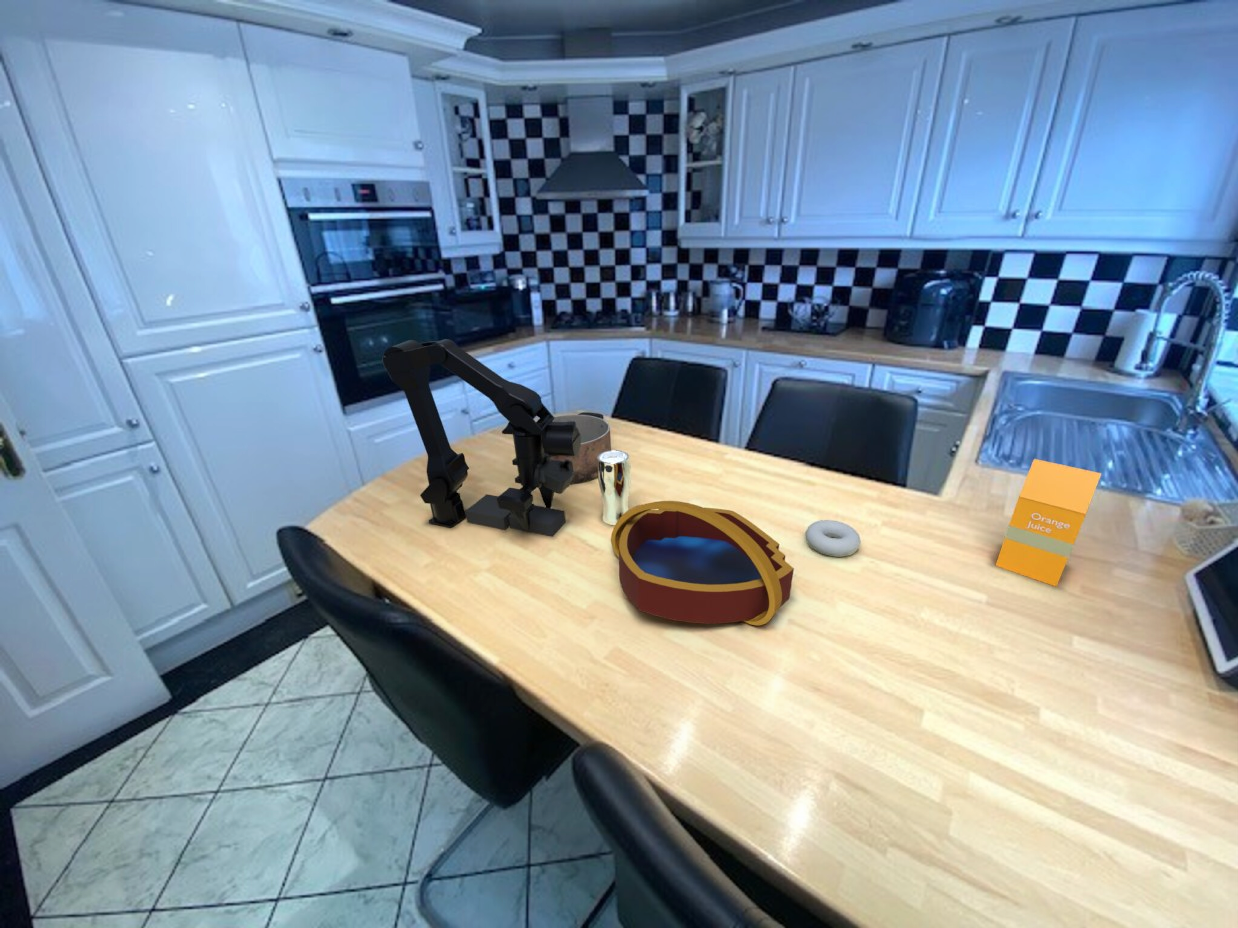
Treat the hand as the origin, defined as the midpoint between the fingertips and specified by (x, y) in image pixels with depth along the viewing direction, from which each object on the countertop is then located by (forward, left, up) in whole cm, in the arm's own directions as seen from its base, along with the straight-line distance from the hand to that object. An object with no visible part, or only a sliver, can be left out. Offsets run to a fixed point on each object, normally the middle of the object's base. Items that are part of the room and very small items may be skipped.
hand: (538, 518), depth 109 cm
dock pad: (-10, 0, -2) cm, 10 cm away
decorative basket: (+36, -8, -2) cm, 37 cm away
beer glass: (+15, +8, -2) cm, 17 cm away
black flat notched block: (0, 0, -2) cm, 2 cm away
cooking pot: (-7, +29, -2) cm, 30 cm away
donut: (+59, +12, -2) cm, 60 cm away
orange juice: (+92, +16, -2) cm, 93 cm away
